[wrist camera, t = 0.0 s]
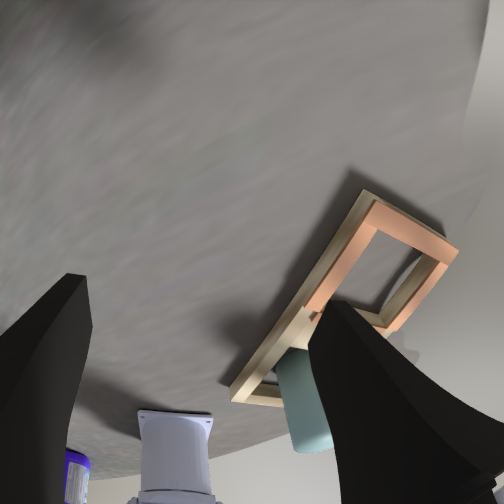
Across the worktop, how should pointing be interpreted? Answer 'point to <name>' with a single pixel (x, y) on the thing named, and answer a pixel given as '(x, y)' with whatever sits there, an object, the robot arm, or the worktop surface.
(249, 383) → the wooden slot frame
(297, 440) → the peg
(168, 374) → the worktop surface
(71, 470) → the bottle
